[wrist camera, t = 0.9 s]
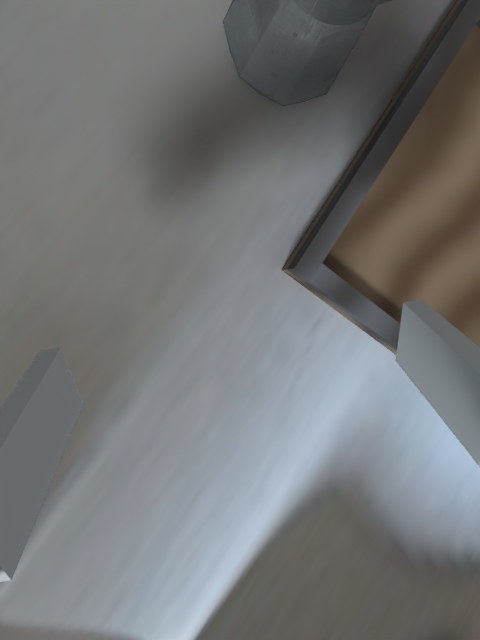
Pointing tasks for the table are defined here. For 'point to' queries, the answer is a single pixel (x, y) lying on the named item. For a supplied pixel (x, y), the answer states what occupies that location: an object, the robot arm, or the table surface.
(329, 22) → the coffeepot
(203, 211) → the table surface
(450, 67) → the tray
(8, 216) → the table surface
